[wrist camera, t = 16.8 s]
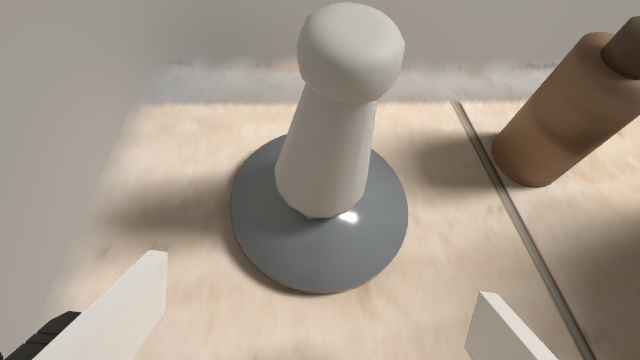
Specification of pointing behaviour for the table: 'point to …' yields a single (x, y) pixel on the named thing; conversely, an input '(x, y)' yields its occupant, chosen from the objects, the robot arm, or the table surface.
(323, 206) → the salt shaker
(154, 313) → the robot arm
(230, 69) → the table surface
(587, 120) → the walnut pepper mill
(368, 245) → the slate coaster
